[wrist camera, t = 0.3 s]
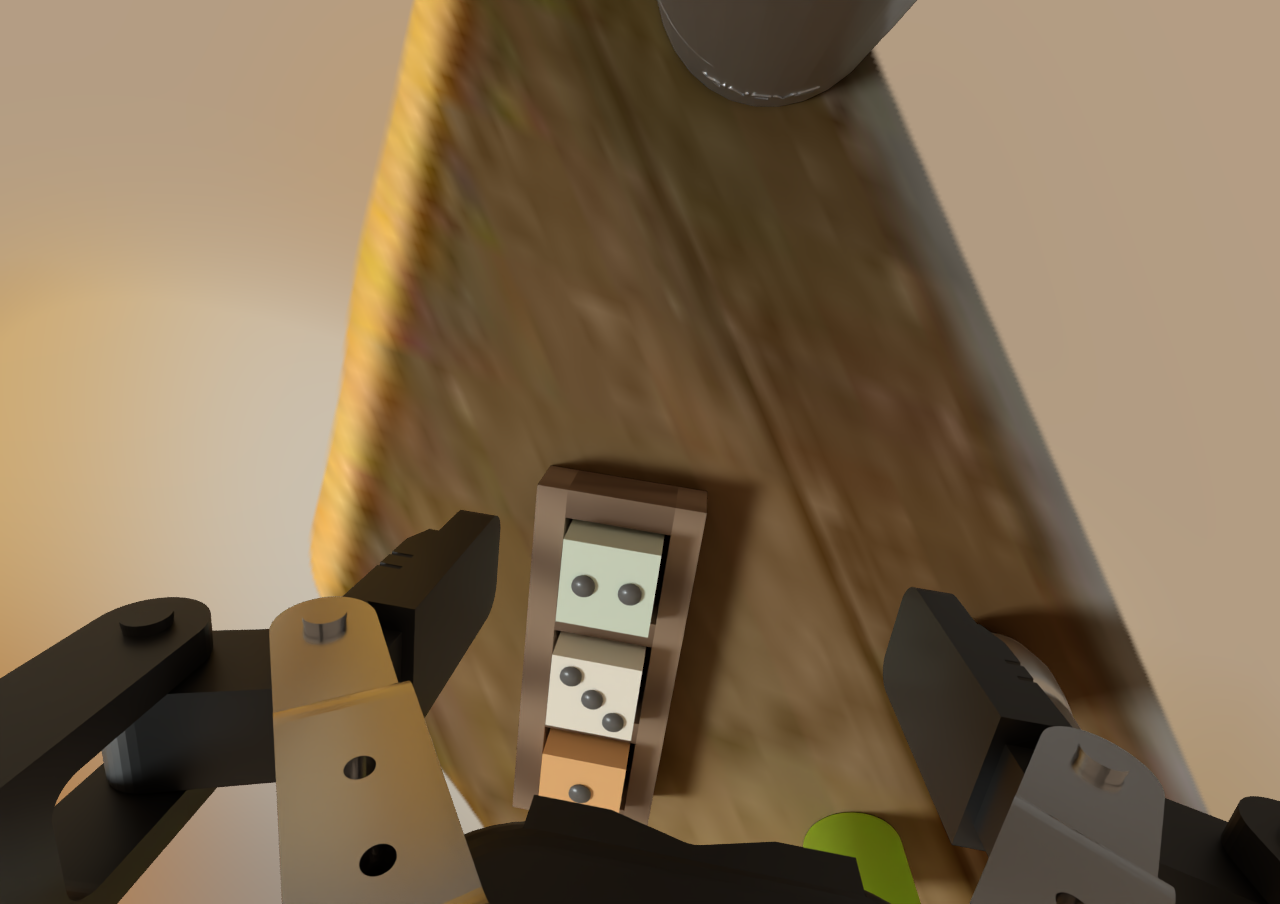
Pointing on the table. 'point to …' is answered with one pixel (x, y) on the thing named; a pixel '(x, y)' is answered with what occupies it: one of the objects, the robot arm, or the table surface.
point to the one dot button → (583, 769)
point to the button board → (630, 508)
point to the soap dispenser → (868, 853)
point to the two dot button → (608, 577)
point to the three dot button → (594, 685)
